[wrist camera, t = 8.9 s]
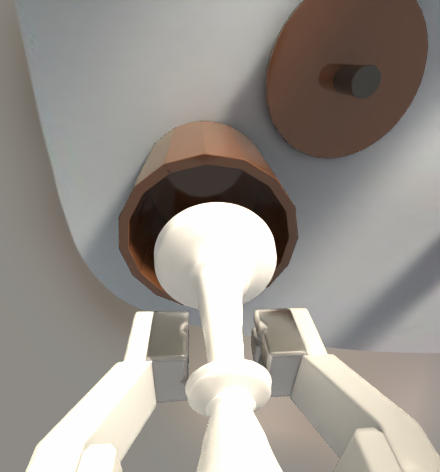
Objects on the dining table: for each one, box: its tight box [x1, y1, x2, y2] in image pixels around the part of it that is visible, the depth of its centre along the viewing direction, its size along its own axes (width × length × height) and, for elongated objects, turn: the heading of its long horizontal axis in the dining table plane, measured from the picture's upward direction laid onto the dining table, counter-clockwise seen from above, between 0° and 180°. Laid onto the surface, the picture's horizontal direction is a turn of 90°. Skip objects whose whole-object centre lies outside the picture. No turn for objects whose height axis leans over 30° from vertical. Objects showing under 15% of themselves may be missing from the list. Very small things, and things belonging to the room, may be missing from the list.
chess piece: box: [154, 202, 283, 472], centre depth 8 cm, size 5×5×10 cm
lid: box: [266, 0, 428, 158], centre depth 27 cm, size 16×16×5 cm
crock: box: [119, 121, 298, 305], centre depth 29 cm, size 15×15×13 cm
